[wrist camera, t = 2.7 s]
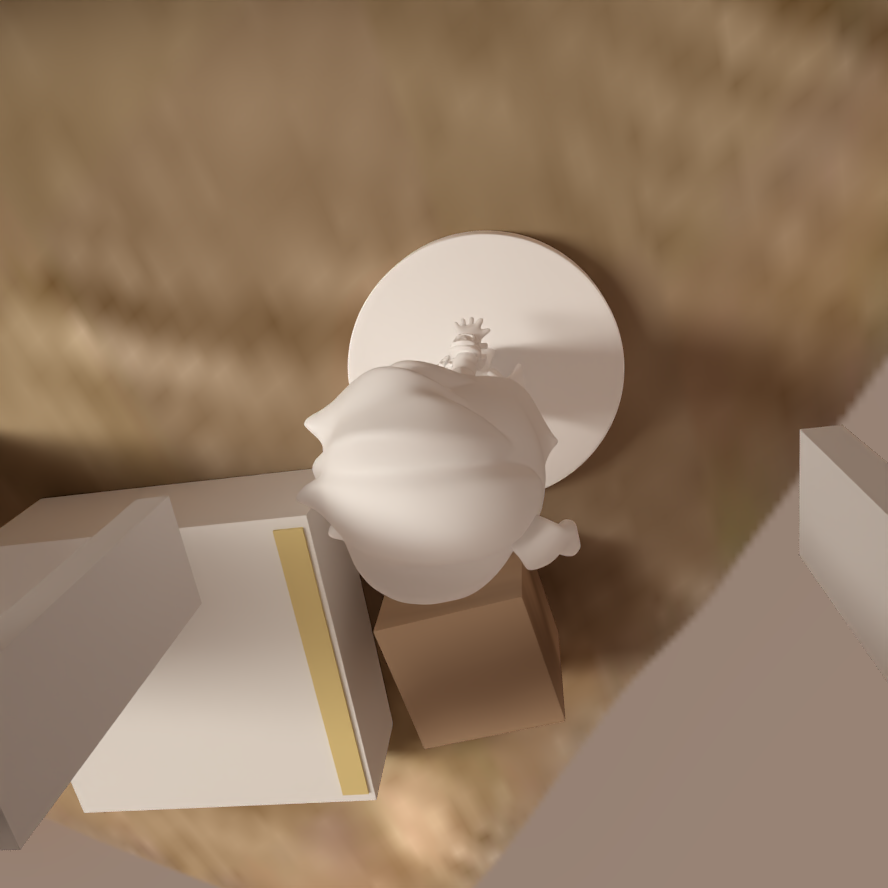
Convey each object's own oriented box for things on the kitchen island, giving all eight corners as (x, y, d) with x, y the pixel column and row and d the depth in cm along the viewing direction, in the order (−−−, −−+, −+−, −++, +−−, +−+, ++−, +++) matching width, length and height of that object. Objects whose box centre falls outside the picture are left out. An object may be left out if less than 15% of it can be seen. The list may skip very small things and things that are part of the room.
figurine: (627, 476, 27) (704, 710, 15) (378, 498, 28) (285, 729, 17) (612, 211, 23) (695, 266, 12) (331, 250, 25) (177, 331, 13)
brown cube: (396, 554, 29) (373, 631, 24) (521, 522, 28) (521, 596, 23) (439, 657, 30) (424, 749, 26) (558, 630, 29) (565, 721, 25)
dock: (40, 498, 29) (-32, 550, 25) (335, 466, 27) (305, 516, 24) (138, 753, 34) (89, 829, 30) (396, 738, 32) (379, 818, 28)
